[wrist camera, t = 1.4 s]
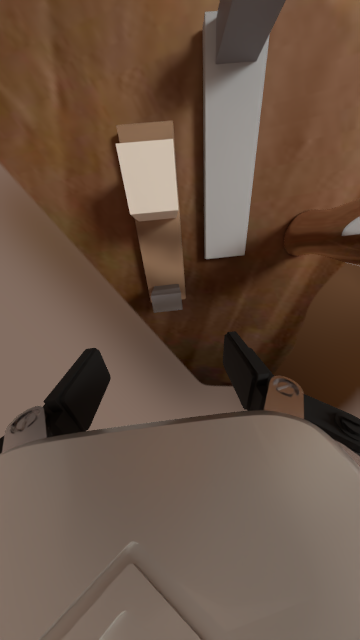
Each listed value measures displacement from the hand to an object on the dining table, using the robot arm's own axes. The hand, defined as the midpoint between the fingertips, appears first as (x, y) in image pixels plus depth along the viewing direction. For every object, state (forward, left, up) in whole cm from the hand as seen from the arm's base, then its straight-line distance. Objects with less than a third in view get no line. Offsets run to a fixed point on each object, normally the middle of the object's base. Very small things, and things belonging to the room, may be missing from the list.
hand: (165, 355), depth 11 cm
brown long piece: (-9, 0, -16) cm, 18 cm away
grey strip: (-15, +10, -16) cm, 24 cm away
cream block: (-13, 0, -15) cm, 20 cm away
